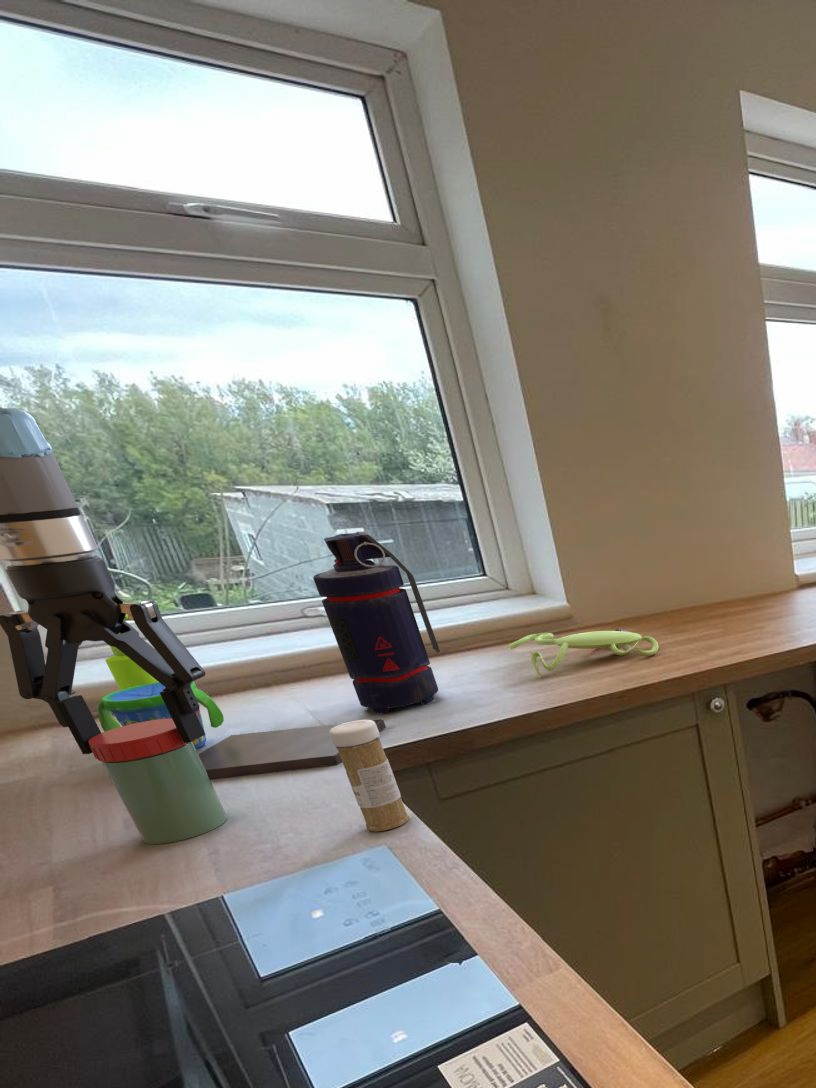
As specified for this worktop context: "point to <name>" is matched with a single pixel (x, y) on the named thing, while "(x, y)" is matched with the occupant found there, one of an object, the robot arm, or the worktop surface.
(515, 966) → the worktop surface
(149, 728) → the lid
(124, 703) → the snack cup
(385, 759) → the sprinkles bottle
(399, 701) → the grenade
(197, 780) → the jar
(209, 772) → the board
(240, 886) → the worktop surface
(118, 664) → the soap dispenser
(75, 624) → the robot arm
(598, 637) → the figurine
